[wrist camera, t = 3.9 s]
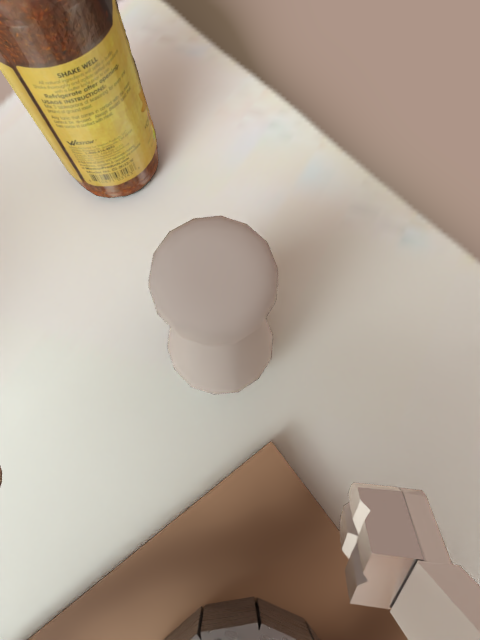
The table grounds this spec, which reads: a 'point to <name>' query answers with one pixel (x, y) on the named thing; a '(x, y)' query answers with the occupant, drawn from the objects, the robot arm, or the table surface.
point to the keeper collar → (243, 623)
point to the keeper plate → (231, 565)
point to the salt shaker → (215, 302)
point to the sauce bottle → (81, 89)
